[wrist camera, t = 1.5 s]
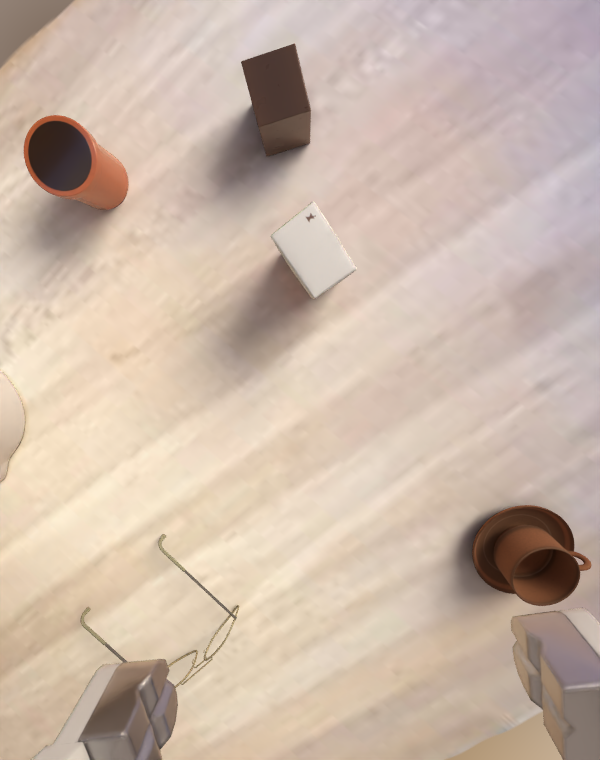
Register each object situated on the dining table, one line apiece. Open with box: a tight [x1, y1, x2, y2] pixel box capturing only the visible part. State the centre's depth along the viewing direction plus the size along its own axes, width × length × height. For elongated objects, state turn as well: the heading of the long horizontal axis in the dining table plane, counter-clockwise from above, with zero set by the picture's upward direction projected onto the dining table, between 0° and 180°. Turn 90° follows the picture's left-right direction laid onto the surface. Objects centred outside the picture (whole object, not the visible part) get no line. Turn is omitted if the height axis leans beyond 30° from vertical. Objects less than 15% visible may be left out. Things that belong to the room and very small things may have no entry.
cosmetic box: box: [271, 202, 356, 299], centre depth 33 cm, size 6×4×12 cm
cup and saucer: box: [472, 505, 591, 606], centre depth 43 cm, size 12×12×6 cm
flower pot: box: [24, 115, 128, 210], centre depth 35 cm, size 6×6×7 cm
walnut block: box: [241, 44, 311, 156], centre depth 33 cm, size 5×5×6 cm
